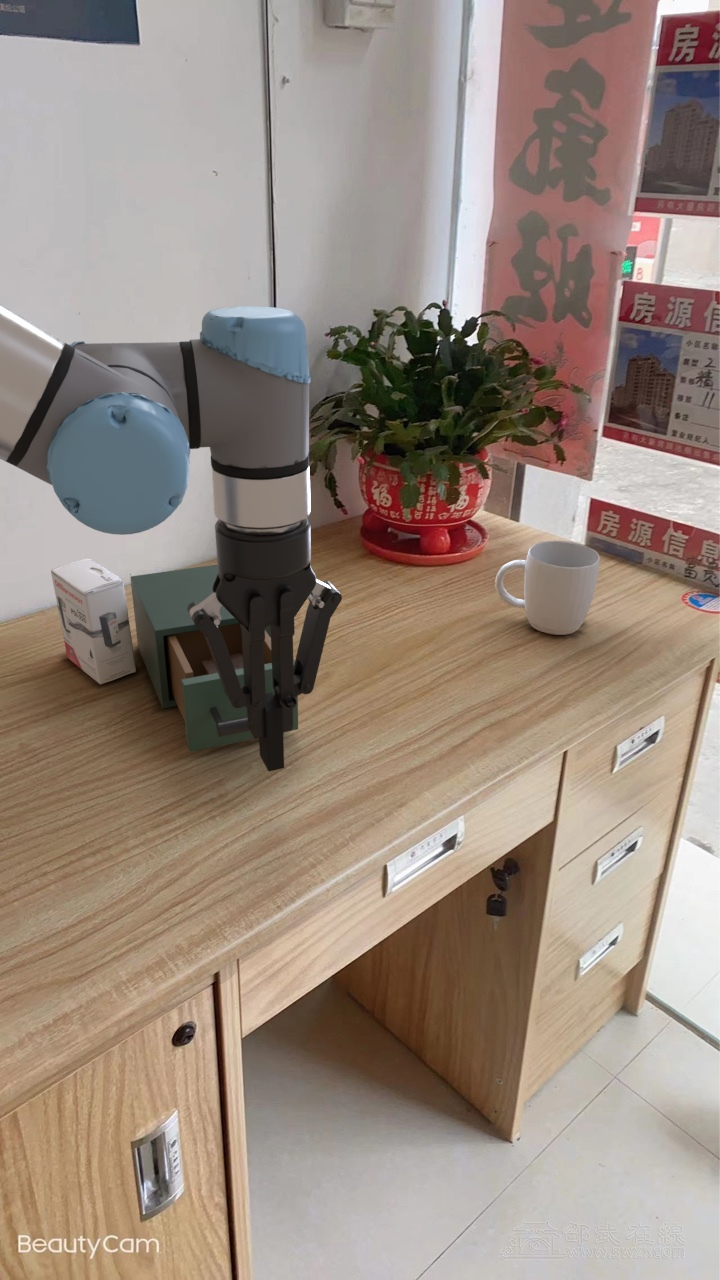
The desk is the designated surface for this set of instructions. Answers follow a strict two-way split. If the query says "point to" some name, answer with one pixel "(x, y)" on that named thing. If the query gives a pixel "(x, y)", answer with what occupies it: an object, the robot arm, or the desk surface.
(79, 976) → the desk surface
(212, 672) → the block
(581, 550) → the mug
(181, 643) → the drawer
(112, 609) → the ink box
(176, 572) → the cabinet
